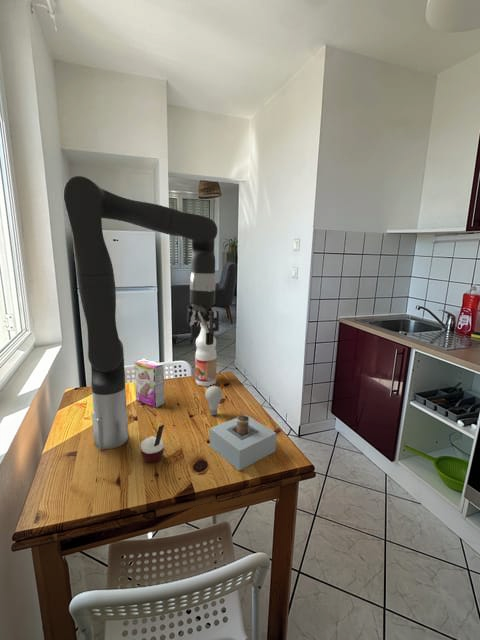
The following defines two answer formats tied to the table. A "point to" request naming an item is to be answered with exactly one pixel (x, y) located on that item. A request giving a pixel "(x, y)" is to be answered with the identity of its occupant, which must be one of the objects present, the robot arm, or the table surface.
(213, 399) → the lightbulb
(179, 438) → the table surface
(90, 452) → the table surface
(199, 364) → the fruit juice
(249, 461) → the socket block
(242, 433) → the dowel
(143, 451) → the cocoa
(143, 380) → the candy bar box
